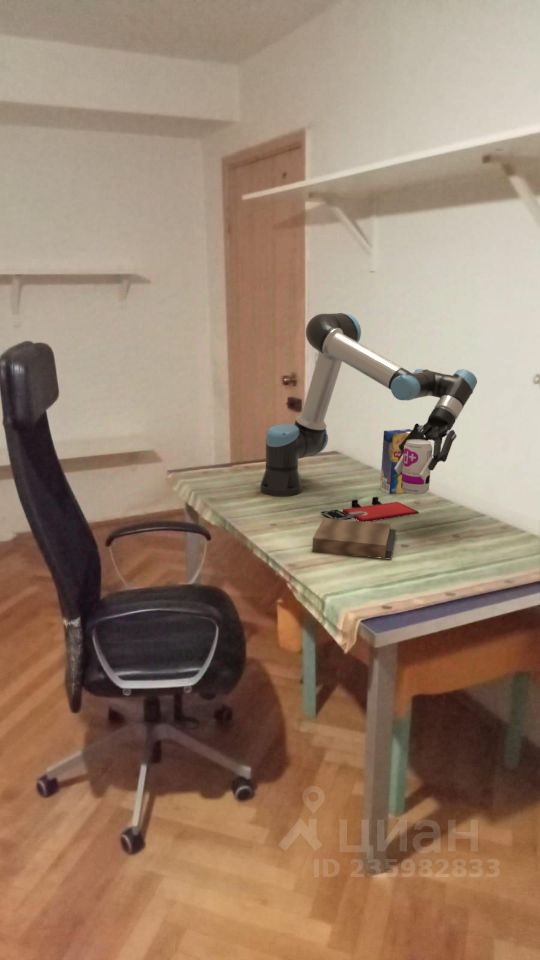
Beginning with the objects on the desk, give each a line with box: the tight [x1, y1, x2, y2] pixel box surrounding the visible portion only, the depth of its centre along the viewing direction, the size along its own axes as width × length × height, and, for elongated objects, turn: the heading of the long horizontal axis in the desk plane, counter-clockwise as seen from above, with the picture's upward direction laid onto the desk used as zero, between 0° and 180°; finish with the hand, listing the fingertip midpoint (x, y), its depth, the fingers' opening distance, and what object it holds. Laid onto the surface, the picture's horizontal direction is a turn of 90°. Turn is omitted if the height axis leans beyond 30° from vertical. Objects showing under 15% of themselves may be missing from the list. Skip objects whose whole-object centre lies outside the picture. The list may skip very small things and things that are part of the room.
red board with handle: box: [320, 496, 420, 522], centre depth 219 cm, size 30×3×15 cm
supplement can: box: [401, 439, 433, 495], centre depth 198 cm, size 8×8×15 cm
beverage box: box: [379, 428, 413, 495], centre depth 243 cm, size 7×11×22 cm, turn 111°
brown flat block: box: [311, 517, 397, 559], centre depth 191 cm, size 22×18×4 cm
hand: (409, 474), depth 196 cm, fingers closed on supplement can, 8 cm apart
